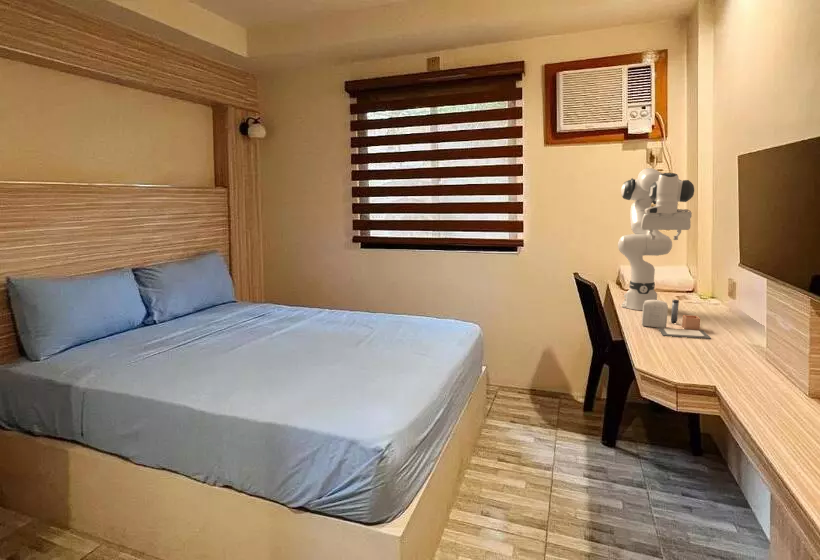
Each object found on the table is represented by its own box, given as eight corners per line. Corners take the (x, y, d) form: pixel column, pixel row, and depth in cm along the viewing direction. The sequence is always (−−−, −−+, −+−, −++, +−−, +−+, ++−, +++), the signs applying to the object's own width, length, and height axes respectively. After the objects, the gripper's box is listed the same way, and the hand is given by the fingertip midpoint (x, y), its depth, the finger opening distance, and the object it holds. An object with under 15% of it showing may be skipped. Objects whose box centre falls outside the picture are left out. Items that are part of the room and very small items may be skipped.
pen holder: (681, 326, 231) (682, 315, 230) (696, 327, 229) (697, 315, 228) (684, 330, 225) (685, 317, 224) (699, 330, 224) (700, 318, 223)
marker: (670, 322, 239) (671, 299, 237) (676, 322, 238) (678, 299, 236) (671, 323, 236) (673, 300, 234) (677, 324, 235) (679, 300, 234)
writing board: (657, 329, 227) (658, 327, 227) (703, 331, 222) (703, 329, 222) (663, 336, 216) (663, 334, 216) (710, 339, 211) (710, 337, 211)
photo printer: (666, 326, 231) (668, 300, 229) (666, 328, 228) (668, 301, 226) (642, 324, 236) (643, 298, 234) (641, 326, 233) (642, 299, 231)
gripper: (690, 209, 230) (687, 239, 233) (641, 209, 236) (639, 238, 238) (693, 209, 224) (691, 240, 227) (643, 209, 230) (641, 240, 232)
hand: (664, 239), depth 233 cm, fingers open, 8 cm apart
